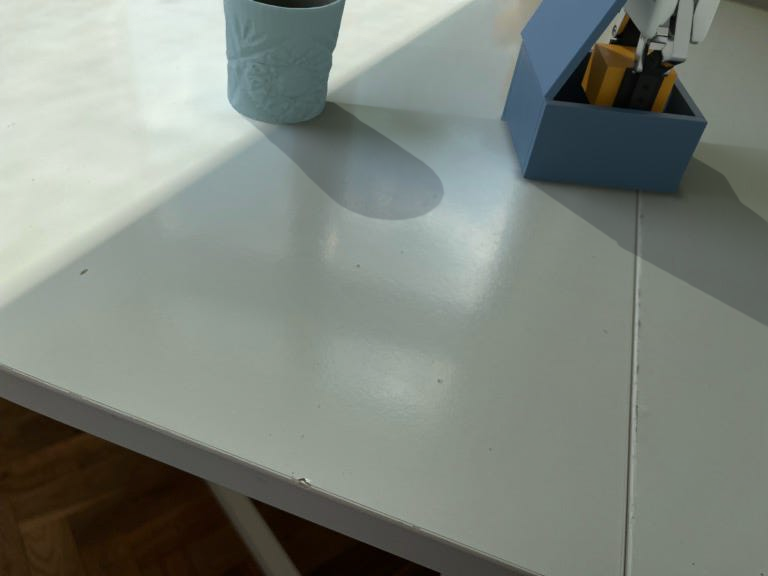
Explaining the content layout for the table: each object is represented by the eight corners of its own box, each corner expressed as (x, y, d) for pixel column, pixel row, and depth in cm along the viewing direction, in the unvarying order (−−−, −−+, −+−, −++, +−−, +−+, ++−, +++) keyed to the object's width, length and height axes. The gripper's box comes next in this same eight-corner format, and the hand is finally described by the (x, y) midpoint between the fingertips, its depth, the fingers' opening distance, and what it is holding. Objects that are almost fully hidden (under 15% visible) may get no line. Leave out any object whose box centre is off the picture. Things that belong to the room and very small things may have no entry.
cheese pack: (645, 92, 70) (661, 50, 68) (660, 117, 67) (678, 74, 64) (581, 84, 70) (595, 42, 67) (592, 110, 66) (608, 66, 64)
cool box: (633, 136, 78) (665, 57, 72) (669, 205, 69) (708, 122, 63) (500, 121, 76) (522, 40, 70) (519, 190, 67) (546, 104, 62)
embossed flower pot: (254, 74, 76) (258, -53, 68) (350, 104, 74) (366, -22, 66) (200, 119, 68) (197, -17, 61) (305, 154, 67) (317, 18, 59)
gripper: (806, -85, 50) (693, 156, 62) (715, -152, 63) (635, 60, 75) (696, -102, 49) (603, 146, 62) (626, -166, 62) (560, 51, 74)
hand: (621, 97), depth 68 cm, fingers closed on cheese pack, 4 cm apart
